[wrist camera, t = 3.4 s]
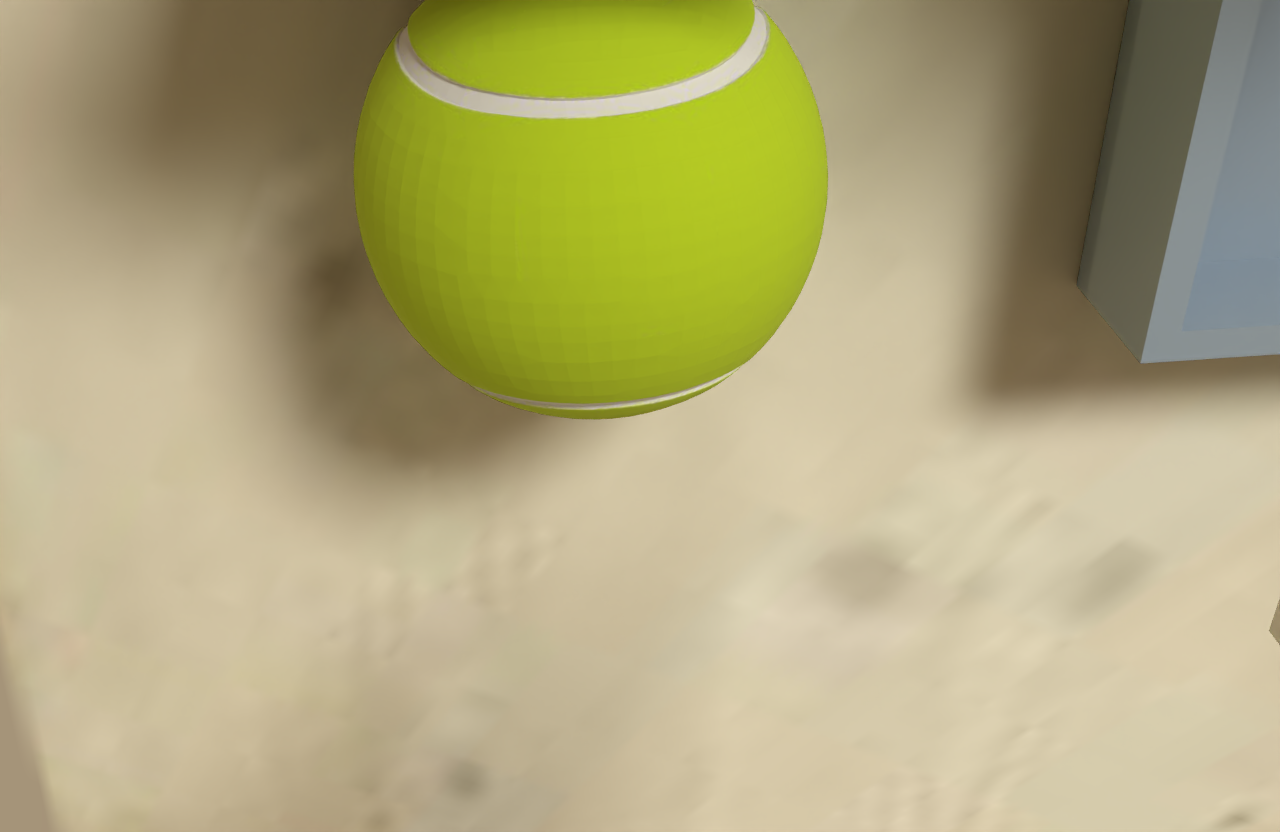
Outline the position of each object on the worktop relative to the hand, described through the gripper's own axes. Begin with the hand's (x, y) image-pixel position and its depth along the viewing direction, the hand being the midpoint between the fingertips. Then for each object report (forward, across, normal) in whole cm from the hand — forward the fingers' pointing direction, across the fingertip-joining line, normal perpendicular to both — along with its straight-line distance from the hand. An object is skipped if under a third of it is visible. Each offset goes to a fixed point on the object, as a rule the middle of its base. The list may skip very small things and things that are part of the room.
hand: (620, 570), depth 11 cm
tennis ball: (+12, 0, 0) cm, 12 cm away
